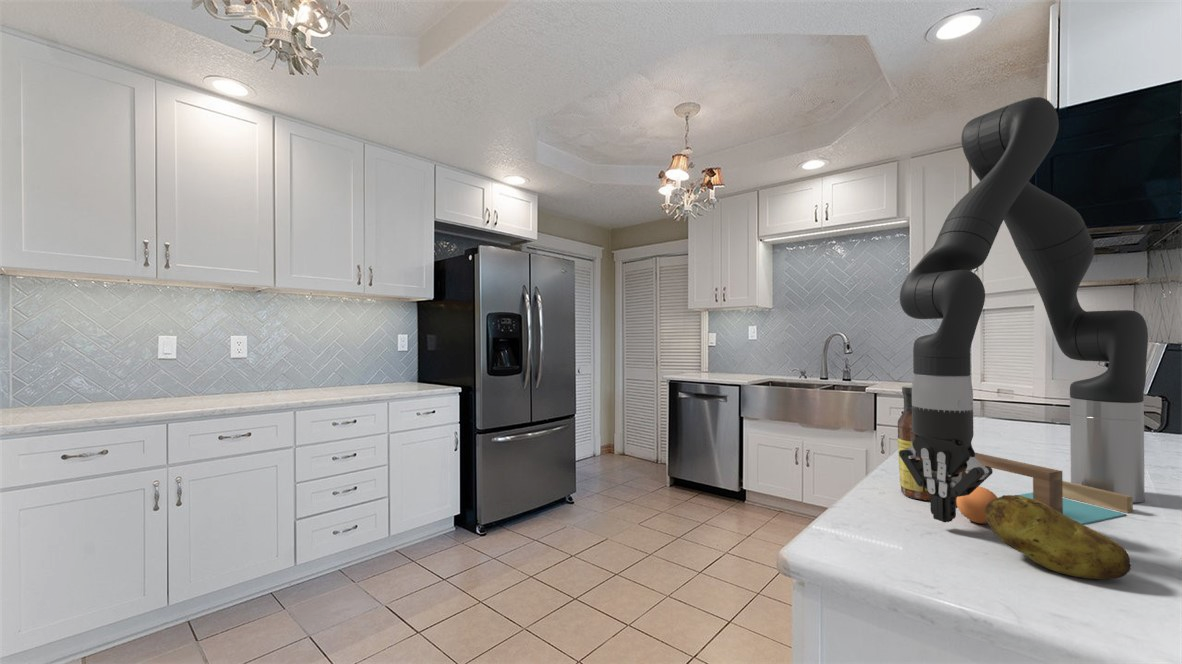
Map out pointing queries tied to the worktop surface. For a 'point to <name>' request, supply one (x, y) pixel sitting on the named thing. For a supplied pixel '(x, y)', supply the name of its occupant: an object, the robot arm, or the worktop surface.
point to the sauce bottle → (905, 442)
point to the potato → (1055, 539)
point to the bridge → (1044, 479)
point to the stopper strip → (1098, 497)
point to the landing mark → (1084, 511)
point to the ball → (975, 504)
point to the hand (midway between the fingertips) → (942, 519)
